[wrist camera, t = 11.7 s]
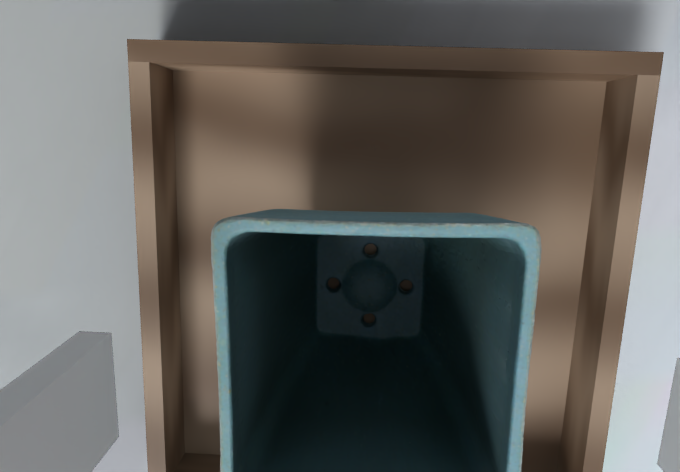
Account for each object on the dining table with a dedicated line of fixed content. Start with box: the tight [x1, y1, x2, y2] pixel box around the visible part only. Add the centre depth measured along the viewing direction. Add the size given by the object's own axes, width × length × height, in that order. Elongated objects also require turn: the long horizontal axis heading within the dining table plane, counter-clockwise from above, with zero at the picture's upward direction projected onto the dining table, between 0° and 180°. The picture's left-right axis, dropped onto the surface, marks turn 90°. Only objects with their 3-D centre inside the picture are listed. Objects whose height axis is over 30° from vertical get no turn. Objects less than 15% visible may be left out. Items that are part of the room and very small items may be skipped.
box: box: [127, 39, 664, 472], centre depth 22 cm, size 20×20×3 cm
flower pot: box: [211, 209, 542, 472], centre depth 18 cm, size 9×9×9 cm
